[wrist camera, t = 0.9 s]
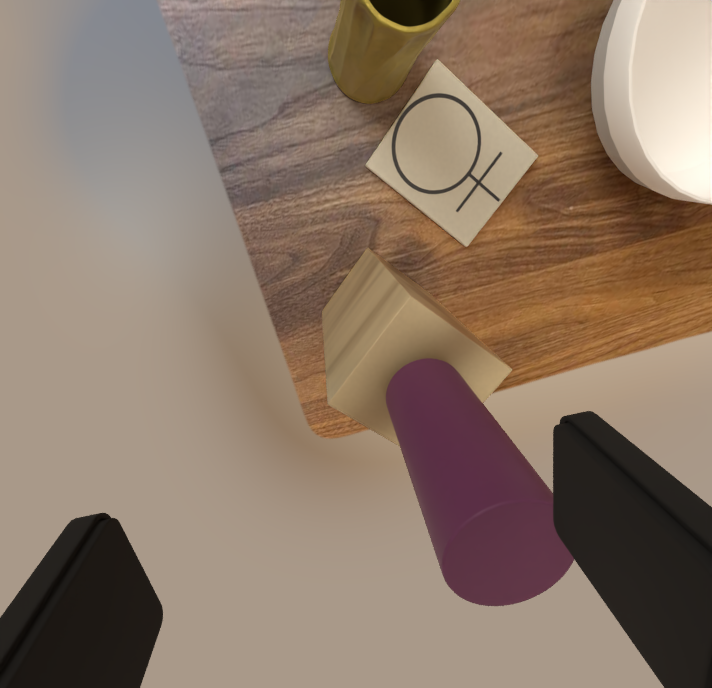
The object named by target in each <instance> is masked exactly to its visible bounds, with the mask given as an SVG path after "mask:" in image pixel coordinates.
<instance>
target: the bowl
mask: <svg viewBox="0 0 712 688" xmlns="http://www.w3.org/2000/svg"><path fill="white" fill-rule="evenodd" d="M591 98H592V112H593V116H594V120H595V125H596V129H597V134H598V136H599V138H600V140H601V142H602V145H603V147H604V149H605V151H606V153H607V155H608V156H609V158H610V159H611V160H612V161H613V163H614V164H615V165H616V167H617V168H618V169H619V170H620V171H621V172H622V173H623V174H625V175H626V176H627V177H628V178H630V179H631V180H632V181H634V182H635V183H637V184H639V185H642V186H644V187H646V188H649V189H651V190H653V191H655V192H658V193H660V194H662V195H665V196H667V197H669V198H672V199H677V200H684V201H690V202H697V203H704V204H711V205H712V0H613V3H612V5H611V7H610V9H609V12H608V14H607V16H606V18H605V21H604V23H603V25H602V29H601V33H600V36H599V40H598V43H597V47H596V50H595V54H594V62H593V70H592V78H591Z"/></svg>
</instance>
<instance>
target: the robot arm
mask: <svg viewBox="0 0 712 688" xmlns="http://www.w3.org/2000/svg"><path fill="white" fill-rule="evenodd" d="M553 433H554V434H553V522H554V526H555V529H556V532H557V534H558V536H559V538H560V539H561V541H562V542H563V544H564V545H565V546H566V548H567V549H568V551H569V552H570V554H571V555H572V556H573V558H574V559H575V560H576V562H577V563H578V565H579V566H580V568H581V569H582V571H583V572H584V574H585V575H586V576H587V578H588V579H589V581H590V582H591V584H592V585H593V586H594V588H595V589H596V590H597V592H598V593H599V595H600V596H601V598H602V599H603V601H604V602H605V603H606V605H607V606H608V608H609V609H610V611H611V612H612V613H613V615H614V616H615V618H616V619H617V621H618V622H619V623H620V625H621V626H622V628H623V629H624V631H625V632H626V633H627V635H628V636H629V638H630V639H631V640H632V642H633V643H634V645H635V646H636V648H637V649H638V650H639V652H640V653H641V655H642V656H643V658H644V659H645V661H646V662H647V663H648V665H649V666H650V668H651V669H652V671H653V672H654V673H655V675H656V676H657V678H658V679H659V680H660V682H661V683H662V685H663V686H664V688H712V507H711V506H709V505H708V504H707V503H706V502H704V501H703V500H702V499H701V498H699V497H698V496H697V495H696V494H695V493H693V492H692V491H691V490H690V489H688V488H687V487H686V486H685V485H683V484H682V483H681V482H680V481H678V480H677V479H676V478H675V477H674V476H672V475H671V474H670V473H668V472H667V471H666V470H665V469H664V468H662V467H661V466H660V465H659V464H657V463H656V462H655V461H654V460H652V459H651V458H650V457H649V456H647V455H646V454H645V453H644V452H642V451H641V450H640V449H639V448H638V447H636V446H635V445H634V444H632V443H631V442H630V441H629V440H628V439H626V438H625V437H624V436H623V435H621V434H620V433H619V432H618V431H616V430H615V429H614V428H613V427H612V426H610V425H609V424H608V423H607V422H605V421H604V420H603V419H602V418H600V417H599V416H598V415H597V414H595V413H594V412H591V411H587V412H582V413H577V414H573V415H567V416H564V417H562V418H561V420H560V424H559V425H556V426H555V427H554V432H553ZM162 619H163V610H162V605H161V603H160V601H159V599H158V597H157V595H156V593H155V591H154V589H153V587H152V585H151V583H150V581H149V579H148V577H147V576H146V573H145V571H144V569H143V567H142V566H141V564H140V562H139V560H138V558H137V556H136V554H135V552H134V550H133V548H132V546H131V544H130V542H129V540H128V538H127V536H126V534H125V532H124V531H123V528H122V527H121V525H120V523H119V521H118V520H117V519H115V518H111V517H110V516H109V515H108V514H106V513H99V514H94V515H90V516H85V517H80V518H76V519H74V520H72V521H71V522H70V523H69V524H68V525H67V526H66V527H65V529H64V530H63V532H62V533H61V534H60V536H59V537H58V539H57V540H56V541H55V543H54V544H53V546H52V547H51V548H50V550H49V551H48V552H47V554H46V555H45V557H44V558H43V559H42V561H41V562H40V564H39V565H38V566H37V568H36V569H35V571H34V572H33V573H32V575H31V576H30V578H29V579H28V580H27V581H26V583H25V584H24V586H23V587H22V588H21V590H20V591H19V593H18V594H17V595H16V597H15V598H14V600H13V601H12V603H11V604H10V605H9V606H8V608H7V609H6V611H5V612H4V614H3V615H2V616H1V618H0V688H140V686H141V683H142V680H143V677H144V674H145V671H146V668H147V666H148V663H149V660H150V657H151V654H152V651H153V648H154V645H155V642H156V639H157V636H158V634H159V631H160V628H161V624H162Z"/></svg>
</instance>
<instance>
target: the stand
mask: <svg viewBox="0 0 712 688" xmlns="http://www.w3.org/2000/svg"><path fill="white" fill-rule="evenodd" d="M322 326H323V341H324V356H325V372H326V387H327V402H328V405H330V406H331V407H333V408H335V409H336V410H338V411H340V412H342V413H343V414H345V415H347V416H348V417H350V418H352V419H354V420H355V421H357V422H359V423H360V424H362V425H364V426H366V427H367V428H369V429H371V430H372V431H374V432H376V433H378V434H379V435H381V436H383V437H385V438H386V439H388V440H390V441H391V442H393V443H395V444H396V445H398V446H400V445H399V442H398V439H397V436H396V433H395V430H394V427H393V424H392V421H391V418H390V415H389V412H388V409H387V405H386V391H387V387H388V384H389V382H390V381H391V379H392V377H393V376H394V375H395V374H396V372H397V371H398V370H400V369H401V368H402V367H403V366H405V365H406V364H408V363H410V362H413V361H416V360H419V359H426V358H432V359H438V360H442V361H445V362H447V363H449V364H450V365H452V366H453V367H454V368H455V369H456V370H457V371H458V372H459V374H460V375H461V376H462V377H463V379H464V380H465V381H466V383H467V384H468V385H469V386H470V388H471V389H472V390H473V392H474V393H475V394H476V395H477V397H478V398H479V399H480V401H481V402H482V403H484V401H485V400H486V399H487V398H488V397H489V396H490V395H491V394H492V392H493V391H494V390H495V389H496V388H497V387H498V386H499V385H500V383H501V382H502V381H503V380H504V379H505V378H506V377H507V376H508V374H509V373H510V372H511V371H512V369H511V368H510V367H509V366H508V365H507V364H506V363H505V362H504V361H503V360H502V359H501V358H499V357H498V356H497V355H496V354H495V353H494V352H493V351H492V350H491V349H490V348H489V347H488V346H486V345H485V344H484V343H483V342H482V341H481V340H480V339H479V338H478V337H477V336H476V335H474V334H473V333H472V332H471V331H470V330H469V329H468V328H467V327H466V326H465V325H464V324H463V323H461V322H460V321H459V320H458V319H457V318H456V317H455V316H454V315H453V314H452V313H451V312H450V311H448V310H447V309H446V308H445V307H444V306H443V305H442V304H441V303H440V302H439V301H438V300H437V299H435V298H434V297H433V296H432V295H431V294H430V293H429V292H428V291H426V290H425V289H424V288H422V287H421V286H420V285H418V284H417V283H415V282H414V281H413V280H411V279H410V278H409V277H407V276H406V275H405V274H403V273H402V272H401V271H399V270H398V269H397V268H395V267H394V266H392V265H391V264H390V263H388V262H387V261H386V260H384V259H383V258H382V257H380V256H379V255H378V254H376V253H375V252H373V251H372V250H371V249H369V248H368V247H367V248H366V250H365V251H364V253H363V254H362V255H361V257H360V258H359V260H358V261H357V262H356V264H355V265H354V267H353V268H352V270H351V271H350V272H349V274H348V275H347V277H346V278H345V279H344V281H343V282H342V284H341V285H340V286H339V288H338V289H337V291H336V292H335V293H334V295H333V296H332V298H331V299H330V300H329V302H328V303H327V305H326V306H325V307H324V309H323V310H322Z"/></svg>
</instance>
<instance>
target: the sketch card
mask: <svg viewBox="0 0 712 688" xmlns="http://www.w3.org/2000/svg"><path fill="white" fill-rule="evenodd" d="M537 157H538V155H537V154H536V153H535V152H534V151H533V150H532V149H531V148H530V147H529V146H528V145H527V144H526V143H525V142H524V141H523V140H521V139H520V138H519V137H518V136H517V135H516V134H515V133H514V132H513V131H512V130H511V129H510V128H509V127H508V126H507V125H506V124H505V123H504V122H503V121H502V120H501V119H500V118H498V117H497V116H496V115H495V114H494V113H493V112H492V111H491V110H490V109H489V108H488V107H487V106H486V105H485V104H484V103H483V102H482V101H481V100H480V99H479V98H478V97H477V96H475V95H474V94H473V93H472V92H471V91H470V90H469V89H468V88H467V87H466V86H465V85H464V84H463V83H462V82H461V81H460V80H459V79H458V78H457V77H456V76H455V75H454V74H453V73H451V72H450V71H449V70H448V69H447V68H446V67H445V66H444V65H443V64H442V63H441V62H440V61H439V60H438V59H437V60H436V61H435V62H434V64H433V65H432V67H431V68H430V70H429V71H428V73H427V74H426V76H425V77H424V79H423V80H422V82H421V83H420V85H419V86H418V88H417V89H416V90H415V92H414V93H413V95H412V96H411V98H410V99H409V101H408V102H407V104H406V105H405V107H404V108H403V110H402V111H401V113H400V114H399V116H398V117H397V119H396V120H395V122H394V123H393V125H392V126H391V128H390V129H389V131H388V132H387V134H386V135H385V137H384V138H383V139H382V141H381V142H380V144H379V145H378V147H377V148H376V150H375V151H374V153H373V154H372V156H371V157H370V159H369V160H368V162H367V163H366V165H365V167H367V168H368V169H369V170H370V171H372V172H373V173H374V174H375V175H377V176H378V177H379V178H380V179H382V180H383V181H384V182H385V183H386V184H388V185H389V186H390V187H391V188H393V189H394V190H395V191H396V192H398V193H399V194H400V195H401V196H403V197H404V198H405V199H406V200H408V201H409V202H410V203H411V204H413V205H414V206H415V207H416V208H418V209H419V210H420V211H421V212H422V213H424V214H425V215H426V216H427V217H429V218H430V219H431V220H432V221H434V222H435V223H436V224H437V225H439V226H440V227H441V228H442V229H444V230H445V231H446V232H447V233H449V234H450V235H451V236H452V237H454V238H455V239H456V240H457V241H458V242H460V243H461V244H462V245H463V246H465V247H467V246H468V245H469V244H470V243H471V241H472V240H473V239H474V237H475V236H476V235H477V234H478V232H479V231H480V230H481V229H482V227H483V226H484V225H485V223H486V222H487V221H488V220H489V218H490V217H491V216H492V214H493V213H494V212H495V211H496V209H497V208H498V207H499V206H500V204H501V203H502V202H503V200H504V199H505V198H506V197H507V195H508V194H509V193H510V191H511V190H512V189H513V188H514V186H515V185H516V184H517V182H518V181H519V180H520V179H521V177H522V176H523V175H524V174H525V172H526V171H527V170H528V168H529V167H530V166H531V165H532V163H533V162H534V161H535V159H536V158H537Z"/></svg>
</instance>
